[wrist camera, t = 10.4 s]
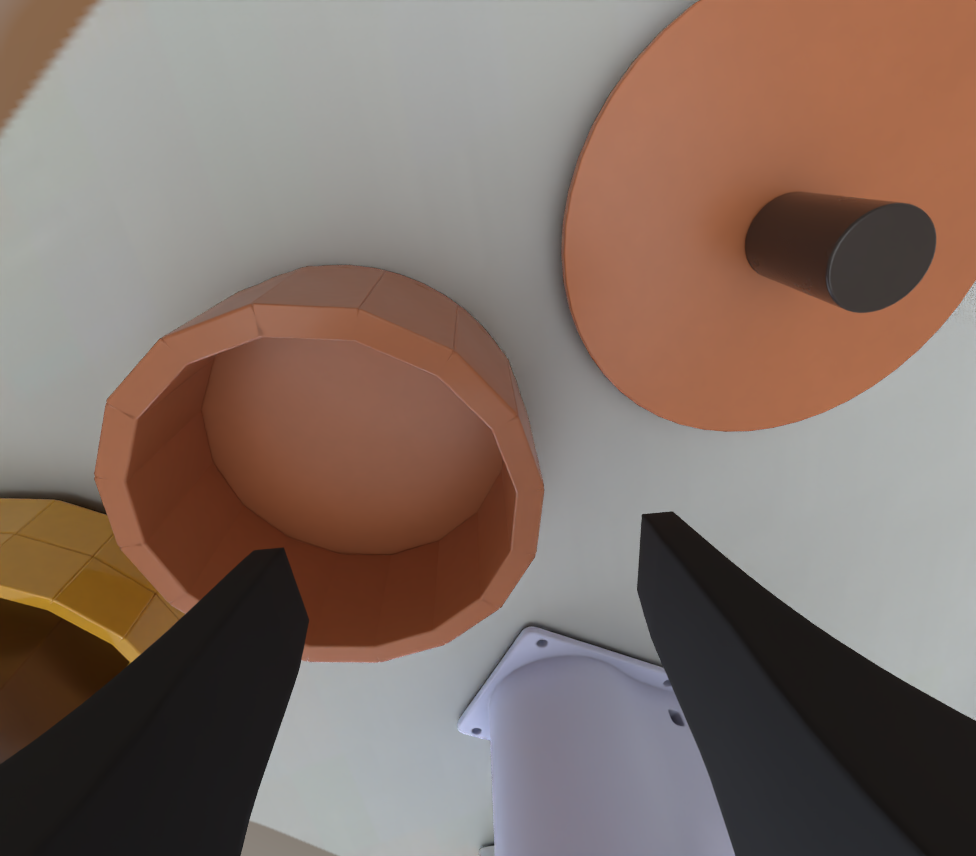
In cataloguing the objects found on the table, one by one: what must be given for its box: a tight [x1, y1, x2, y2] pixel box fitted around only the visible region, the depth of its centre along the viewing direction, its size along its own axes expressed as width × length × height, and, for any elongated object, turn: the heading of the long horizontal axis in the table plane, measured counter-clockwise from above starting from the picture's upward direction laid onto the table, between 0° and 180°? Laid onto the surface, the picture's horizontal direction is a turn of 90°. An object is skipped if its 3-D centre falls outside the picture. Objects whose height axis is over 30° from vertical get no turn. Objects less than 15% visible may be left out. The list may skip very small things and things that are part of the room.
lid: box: [561, 0, 976, 432], centre depth 14 cm, size 13×13×5 cm
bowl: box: [0, 498, 185, 665], centre depth 20 cm, size 12×12×4 cm
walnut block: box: [0, 598, 130, 764], centre depth 19 cm, size 4×4×7 cm
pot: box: [94, 265, 544, 663], centre depth 17 cm, size 12×12×5 cm
